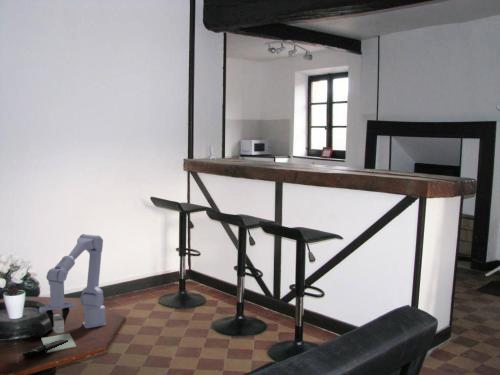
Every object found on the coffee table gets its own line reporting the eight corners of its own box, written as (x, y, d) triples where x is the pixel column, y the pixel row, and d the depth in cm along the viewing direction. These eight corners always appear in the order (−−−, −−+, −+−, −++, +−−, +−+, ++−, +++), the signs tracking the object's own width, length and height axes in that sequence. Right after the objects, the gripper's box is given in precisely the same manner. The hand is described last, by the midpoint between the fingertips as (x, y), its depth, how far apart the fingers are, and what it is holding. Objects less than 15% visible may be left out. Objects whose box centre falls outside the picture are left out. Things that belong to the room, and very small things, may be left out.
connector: (61, 324, 226) (60, 313, 226) (66, 334, 216) (65, 323, 215) (51, 326, 224) (51, 315, 224) (56, 336, 214) (56, 324, 213)
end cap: (45, 338, 228) (45, 323, 227) (31, 336, 229) (30, 322, 228) (57, 329, 237) (57, 315, 237) (43, 328, 238) (43, 314, 238)
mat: (69, 334, 232) (69, 333, 232) (76, 347, 218) (76, 346, 218) (41, 339, 226) (41, 338, 226) (46, 352, 212) (46, 351, 212)
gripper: (40, 300, 213) (41, 331, 214) (76, 295, 220) (77, 325, 221) (38, 296, 219) (39, 326, 220) (73, 291, 226) (73, 320, 227)
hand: (58, 325), depth 221 cm, fingers closed on connector, 4 cm apart
